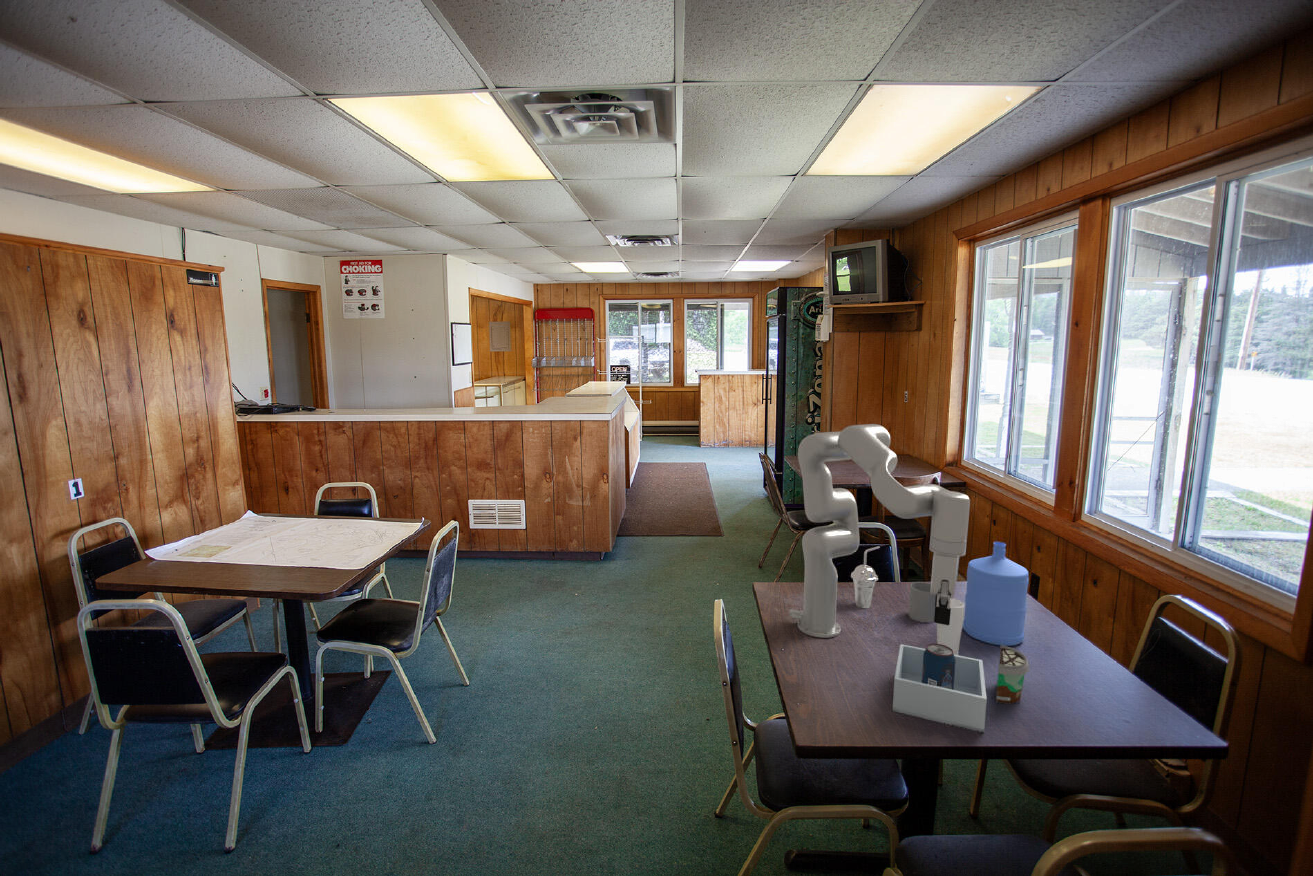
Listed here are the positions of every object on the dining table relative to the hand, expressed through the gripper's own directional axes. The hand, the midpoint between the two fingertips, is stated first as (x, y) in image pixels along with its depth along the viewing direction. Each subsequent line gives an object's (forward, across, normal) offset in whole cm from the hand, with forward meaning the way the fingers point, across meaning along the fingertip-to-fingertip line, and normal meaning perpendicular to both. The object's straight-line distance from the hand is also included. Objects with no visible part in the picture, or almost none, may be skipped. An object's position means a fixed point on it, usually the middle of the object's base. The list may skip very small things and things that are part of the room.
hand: (941, 615), depth 138 cm
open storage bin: (+21, 0, +1) cm, 21 cm away
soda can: (+21, 0, 0) cm, 21 cm away
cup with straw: (+22, -50, -22) cm, 59 cm away
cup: (+22, -48, -4) cm, 54 cm away
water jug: (+22, -44, +15) cm, 52 cm away
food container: (+21, -10, +17) cm, 29 cm away
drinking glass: (+22, -26, +3) cm, 34 cm away
